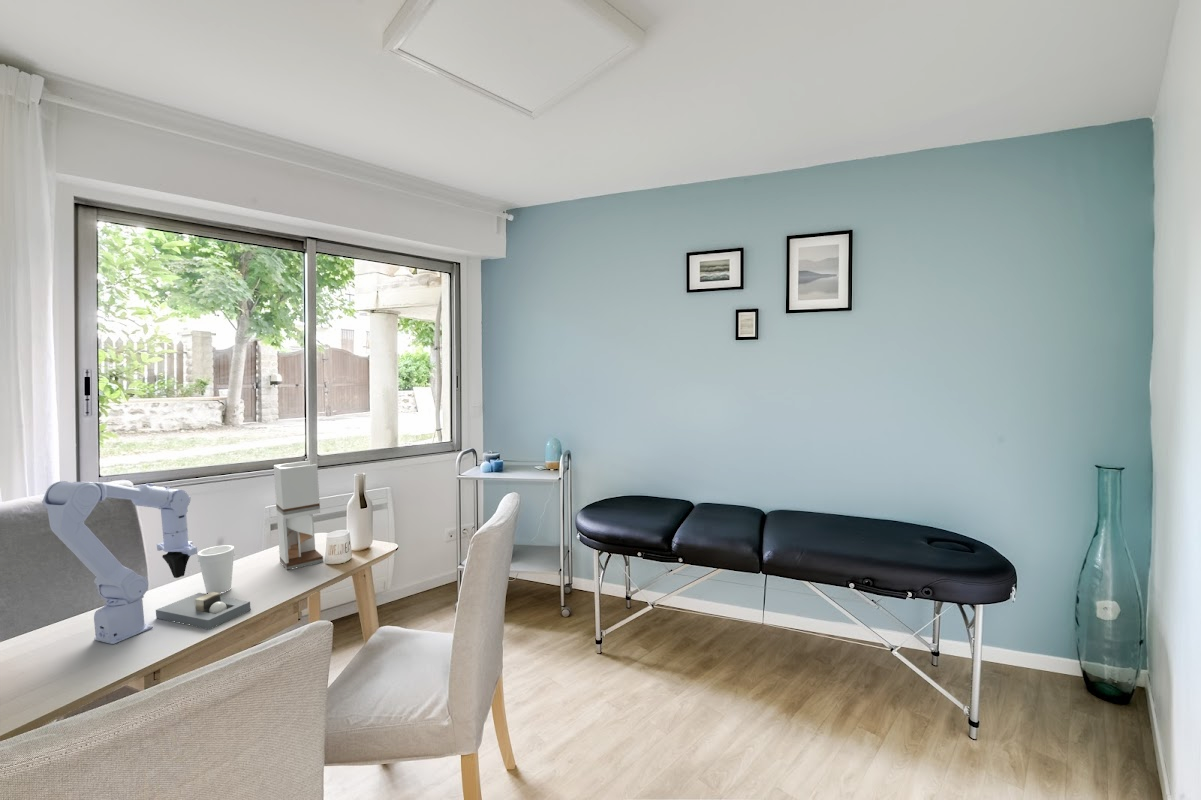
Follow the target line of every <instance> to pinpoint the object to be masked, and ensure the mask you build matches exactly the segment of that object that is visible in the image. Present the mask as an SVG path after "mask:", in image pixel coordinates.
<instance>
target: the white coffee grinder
mask: <svg viewBox="0 0 1201 800" xmlns="http://www.w3.org/2000/svg"><path fill="white" fill-rule="evenodd" d="M310 461H311V460H304V461H295V462H287V463H280V464H274V465H273V473H274V475H273V476H274V489H275V490H274V491H275V492H274V493H275V505H276V507H275V508H276V509H275V510H276V520H277V521H276V523H277V524H276V525H277V535H278V536H277V537H278V549H279V550H278V552H279V553H278V554H279V563H280V562H281V563H282V564H283V565H282V564H281V563H280V564H281V565H282V566H283V568H284V569H285V568H286V569H291V570H293V569H292V568H295V569H297V568H296V567H299V568H303V567H302V566H304V567H307V566H306V565H308V566H311V564H312V565H317V564H320V562H321V563H324V556H323V555H322V554H321V553H320V552H319V551H317V550H316V542H315V541H316V540H315V539H316V538H315V524H314V523H315V520H314V515H315V514H320V513H321V507H320V506H321V505H320V502H321V501H320V491H319V489H320V488H319V487H320V485H319V476H318V475H319V473H318V472H319V470H318V464H317V463H314V464H311V462H310ZM286 569H285V570H286Z"/></svg>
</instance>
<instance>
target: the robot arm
mask: <svg viewBox="0 0 1201 800" xmlns="http://www.w3.org/2000/svg"><path fill="white" fill-rule="evenodd" d="M106 498H112V499H120V500H130V501H131V502H132V504H133V505H134V506H137V507H146V508H154V509H158V510H160V517H161V527H162V538H163V539H162V540H163V542H159V543H156V551H163V552H166V554H162V555H161V557H162V559H163V560H164V561H165V562H166V564H167V565H168V566H169V569H170V572H171V573H172V577H173V578H175V579H179V578H181V577H184V576H185V573H186V569H187V565H188V562H189V560H190V557H191V556H195V555H198V547H197V546H194V545H193V540H192V541H190V540H189V531H188V518H187V514H188V507H189V505H190V504H191V500H192V499H191V496H189V494H188V493H187V492H186V491H185V490H183V489H171V487H170V486H164V487H160V486H155V483H151V482H150V483H149V482H148V483H147V482H146V483H145V484H140V485H138V486H137V487H132V486H126V485H121V484H115V483H109V482H99V481H98V482H97V481H71V482H69V481H65V480H64V481H63V480H62V481H61V480H60V481H57V482H56V481H55V483H52V484H51V485H49V487H48V488H47V489H46V491H45V494H44V496H43V498H42V501H41V503H42V504H43V506H44V507H45V508H46V512H47V516H48V523H49V527H50V530H51V532H52V533H54V535H55V536H56V537H58V540H60V541H61V542H62V543H63V544H64V545H65V547H66V548H68V549H69V550H70V552H72V553H73V554H74V555H75V556H76V558H77V559H78V560H79V561H80V562H81V563H82V564H83V565H84V566H85V567H86V568H87V569H88V570H89V571H90V572H91V573H92V575H94V576H95V578H94V580H93V583H94V584H95V585H96V587H97V592H98V595H99V596H100V597H102V598H104V603H106V604H105V605H103V606H102V607H101V608H98V609H97V610H96V611H95V612H94V615H93V623H94V630H95V631H94V632H95V637H94V638H93V640H94V641H98V642H101V643H102V642H103V643H107V644H110V645H115V644H117V643H119V642H122V641H124V640H126V639H129V638H132V637H134V636H137V635H138V634H141V633H143V632H146V631H148V630H150V629H153V627H154V625H150V624H147V623H146V624H145V615H144V604H143V602H144V601H143V598H144V597H145V596H144V595H145V594H146V592H147V591H148V589H149V580H148V579H147V578H146V576H144V575H139V574H137V573H136V572H135V571H134V570H132V569H130V568H128V567H126V566H124V565H122V563H121V562H120V561H119V559H117V558H116V557H115V555H114V554H112V552H111V551H110V550H109V549H108V548H107V547H106V545H104V544H103V543H102V541H101V540H100V539H99V538H98V537H97V535H95V534H94V533H93V531H92V530H91V529H90V528H89V527H88V526H87V525H86V524H85V521H86V520H87V518H88V517H89V516H90V514H92V511H93V510H94V509H95V507H96V506H97V504H98V503H99V501H101V502H102V501H104V500H105V499H106Z"/></svg>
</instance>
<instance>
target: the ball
mask: <svg viewBox="0 0 1201 800" xmlns="http://www.w3.org/2000/svg"><path fill="white" fill-rule="evenodd" d="M226 609H227V606H226V604H225V603H224V602H215V603H214V604H212V605H211V607H210V609H209V612H210V613H212V614H217V613H219V612H222V611H224V610H226Z"/></svg>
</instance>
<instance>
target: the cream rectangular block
mask: <svg viewBox="0 0 1201 800" xmlns="http://www.w3.org/2000/svg"><path fill="white" fill-rule="evenodd" d="M205 594H206V595H204V596H201V597H199V598H196V599H195V607H196V610H201V611H204V610H207V609H209V608H210V607H211V605H212V604H214V603H215V602H221V599H220V596H221V594H220V593H216V592H211V593H209V594H207V593H205Z"/></svg>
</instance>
